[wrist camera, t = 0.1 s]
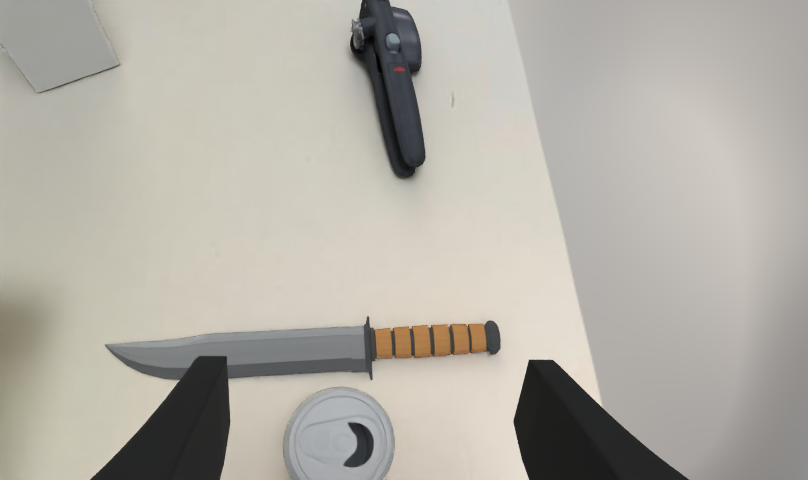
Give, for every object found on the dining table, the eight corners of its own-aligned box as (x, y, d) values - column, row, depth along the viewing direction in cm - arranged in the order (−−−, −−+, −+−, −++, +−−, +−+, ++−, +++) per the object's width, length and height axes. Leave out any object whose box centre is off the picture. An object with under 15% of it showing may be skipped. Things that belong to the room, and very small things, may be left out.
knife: (97, 397, 42) (102, 328, 43) (103, 398, 43) (108, 330, 44) (505, 370, 46) (498, 308, 47) (501, 372, 47) (494, 311, 49)
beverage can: (370, 497, 42) (392, 511, 31) (282, 489, 42) (272, 500, 31) (380, 407, 45) (403, 390, 34) (296, 398, 44) (292, 377, 33)
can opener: (341, 22, 57) (344, -22, 52) (410, 20, 58) (420, -23, 53) (367, 186, 51) (373, 155, 46) (443, 179, 53) (458, 148, 47)
